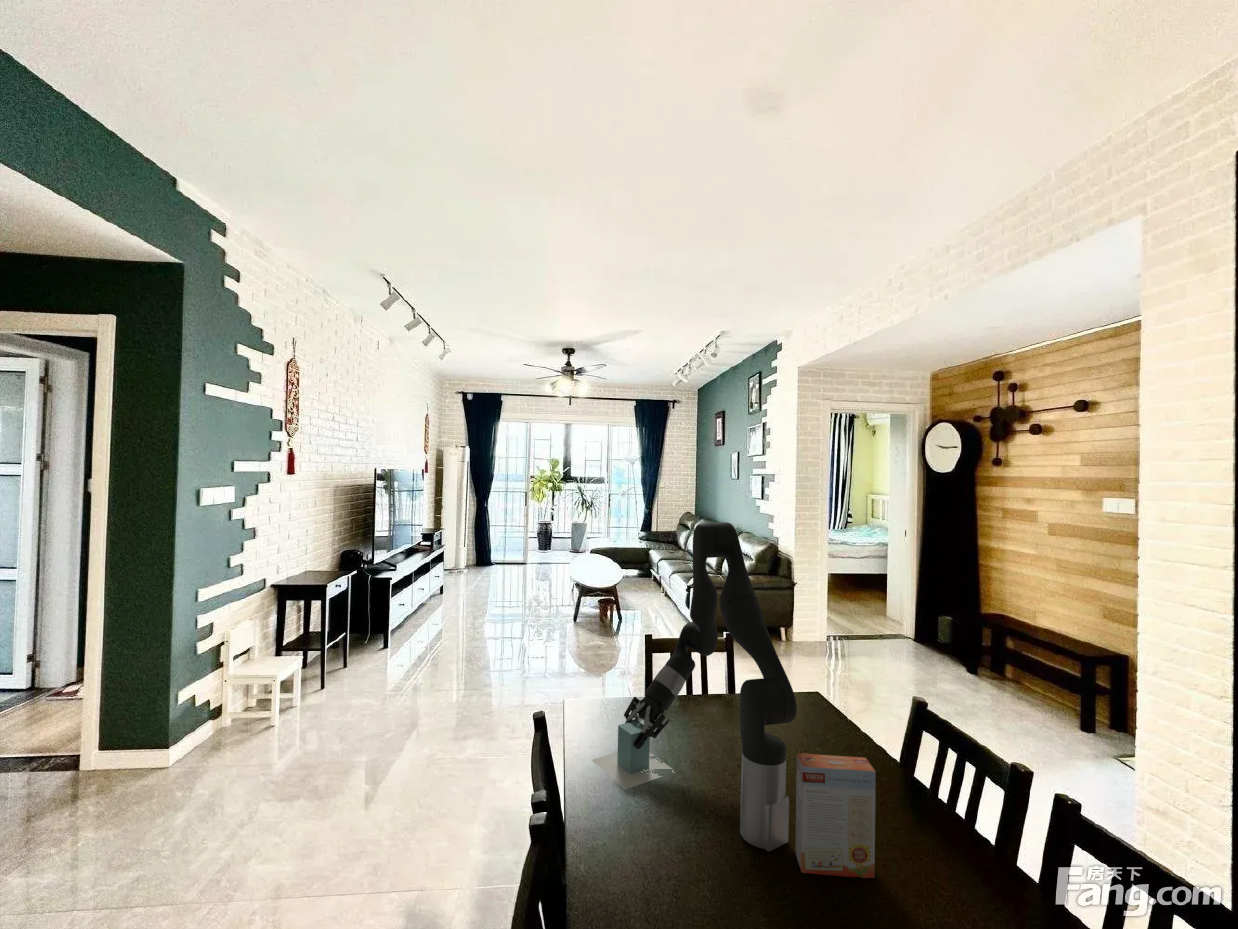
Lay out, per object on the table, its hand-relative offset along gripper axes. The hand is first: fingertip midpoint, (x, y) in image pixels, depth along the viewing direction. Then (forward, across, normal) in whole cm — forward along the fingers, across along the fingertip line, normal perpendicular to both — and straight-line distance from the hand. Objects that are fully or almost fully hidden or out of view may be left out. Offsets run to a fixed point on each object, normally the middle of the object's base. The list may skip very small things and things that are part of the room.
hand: (628, 741), depth 145 cm
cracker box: (-5, +51, +15) cm, 54 cm away
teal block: (+3, 0, +6) cm, 7 cm away
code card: (+4, 0, +6) cm, 7 cm away
